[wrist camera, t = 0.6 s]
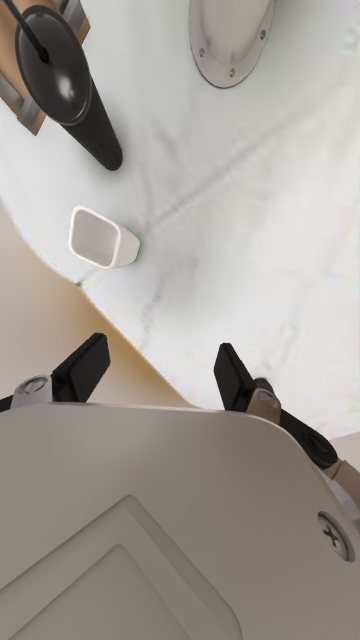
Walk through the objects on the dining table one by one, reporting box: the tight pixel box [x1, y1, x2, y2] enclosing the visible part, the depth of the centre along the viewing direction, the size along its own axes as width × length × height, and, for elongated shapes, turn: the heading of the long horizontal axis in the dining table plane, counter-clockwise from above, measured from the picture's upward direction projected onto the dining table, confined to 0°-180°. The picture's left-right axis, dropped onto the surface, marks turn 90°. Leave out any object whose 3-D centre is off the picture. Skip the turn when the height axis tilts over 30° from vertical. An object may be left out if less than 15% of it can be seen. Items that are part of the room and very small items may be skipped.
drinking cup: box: [2, 0, 122, 171], centre depth 18 cm, size 8×8×20 cm
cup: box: [68, 205, 140, 270], centre depth 27 cm, size 7×7×15 cm
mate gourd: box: [254, 379, 276, 396], centre depth 51 cm, size 7×8×10 cm
